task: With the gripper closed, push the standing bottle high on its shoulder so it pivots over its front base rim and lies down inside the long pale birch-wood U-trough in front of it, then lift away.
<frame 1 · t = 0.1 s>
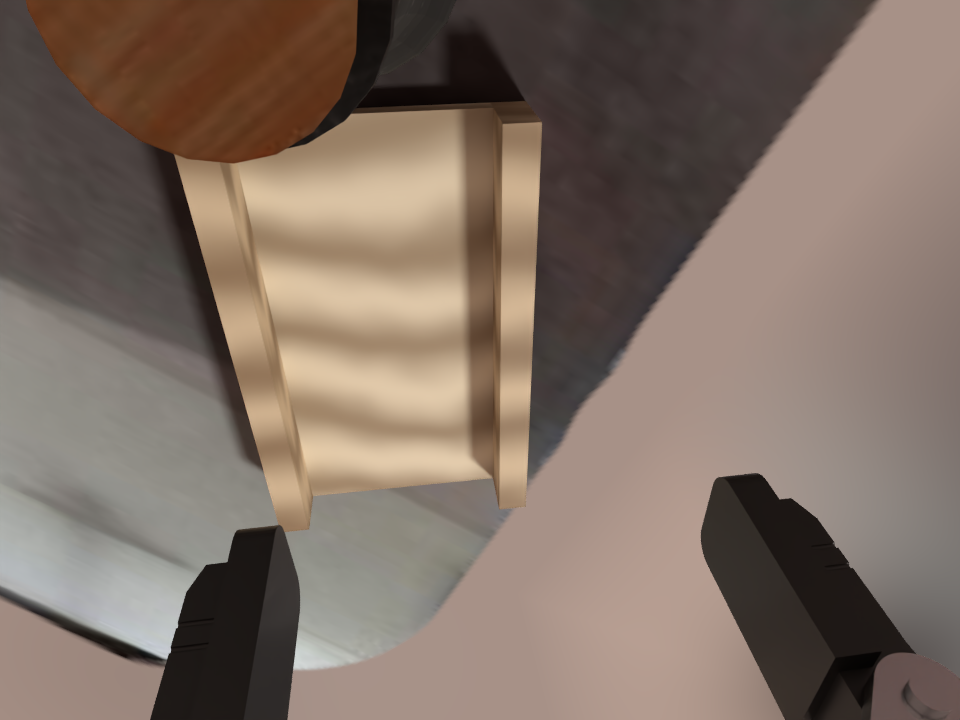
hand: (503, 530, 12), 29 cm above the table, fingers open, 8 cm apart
trough: (387, 326, 43), on the table
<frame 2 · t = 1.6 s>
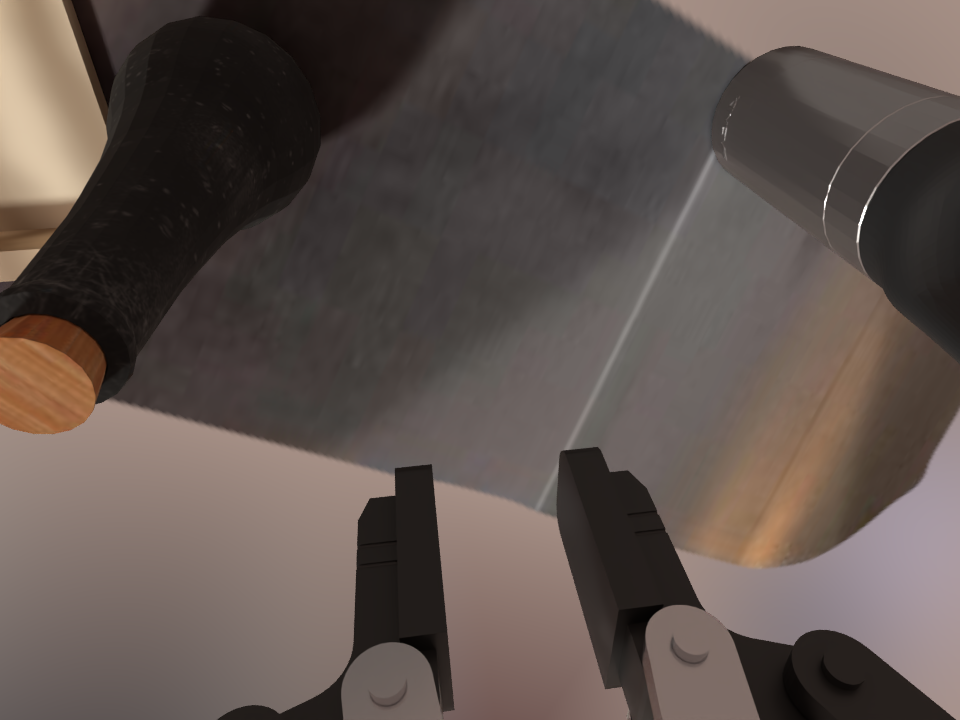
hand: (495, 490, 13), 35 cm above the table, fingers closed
bottle: (241, 99, 41), on the table
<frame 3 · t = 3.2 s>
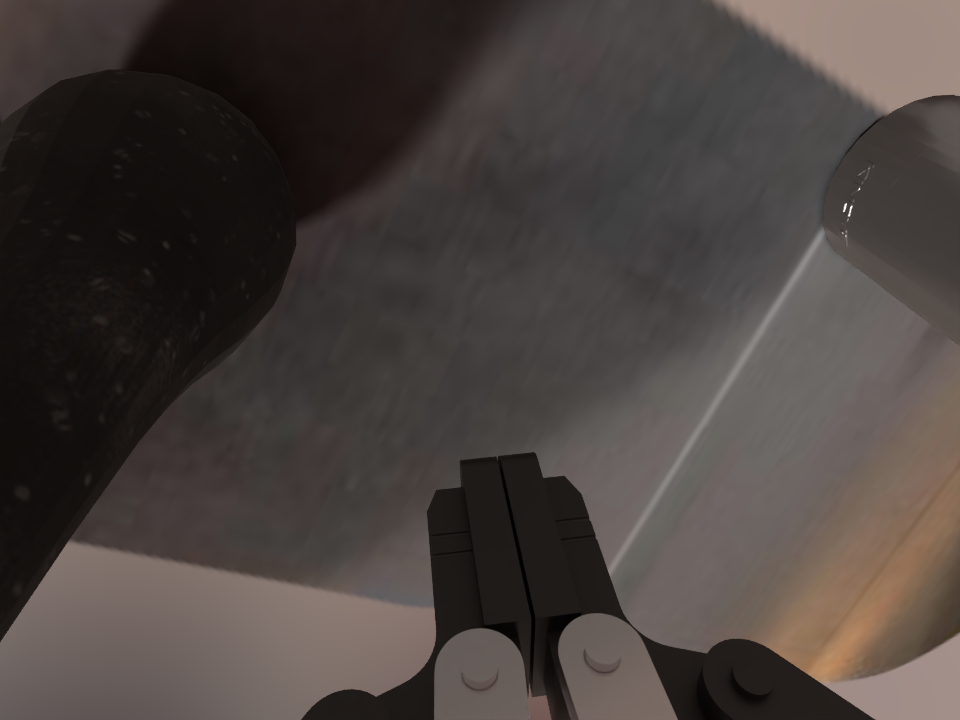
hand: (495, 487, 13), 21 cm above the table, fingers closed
bottle: (189, 172, 29), on the table
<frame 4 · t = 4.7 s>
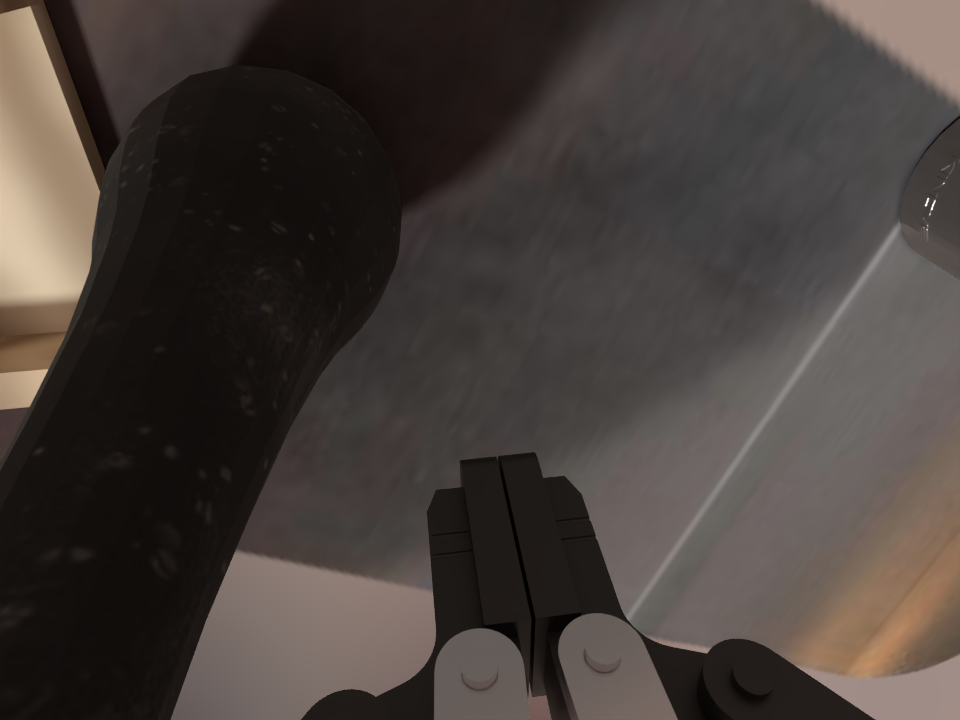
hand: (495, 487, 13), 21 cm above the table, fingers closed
bottle: (288, 167, 30), on the table
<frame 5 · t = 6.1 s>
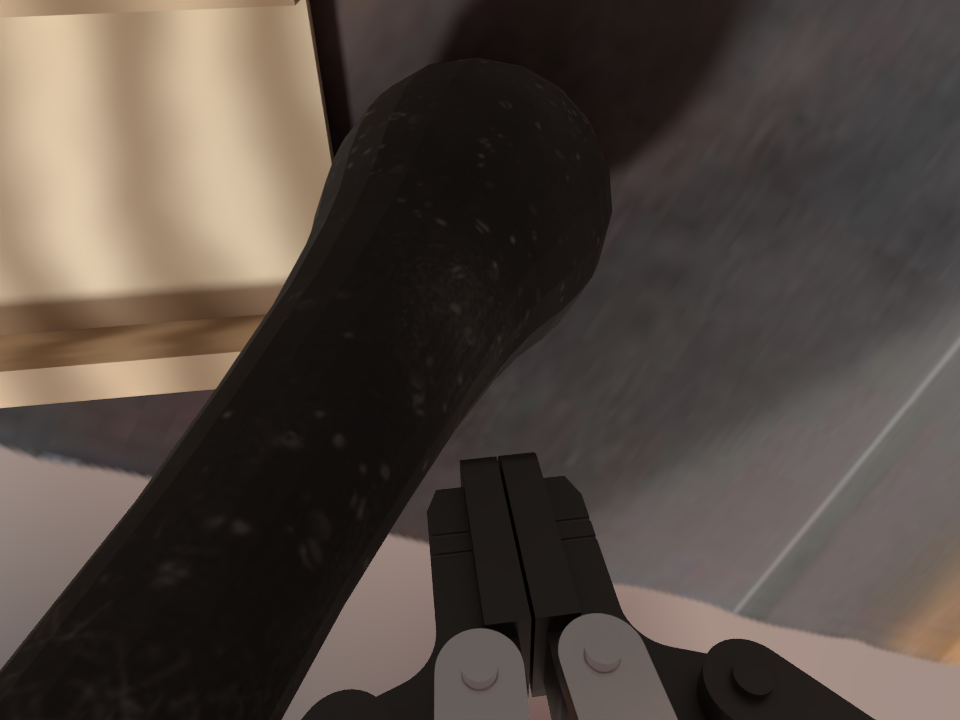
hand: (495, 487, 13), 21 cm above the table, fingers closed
trough: (19, 183, 29), on the table
bottle: (504, 161, 30), point 1 cm above the table
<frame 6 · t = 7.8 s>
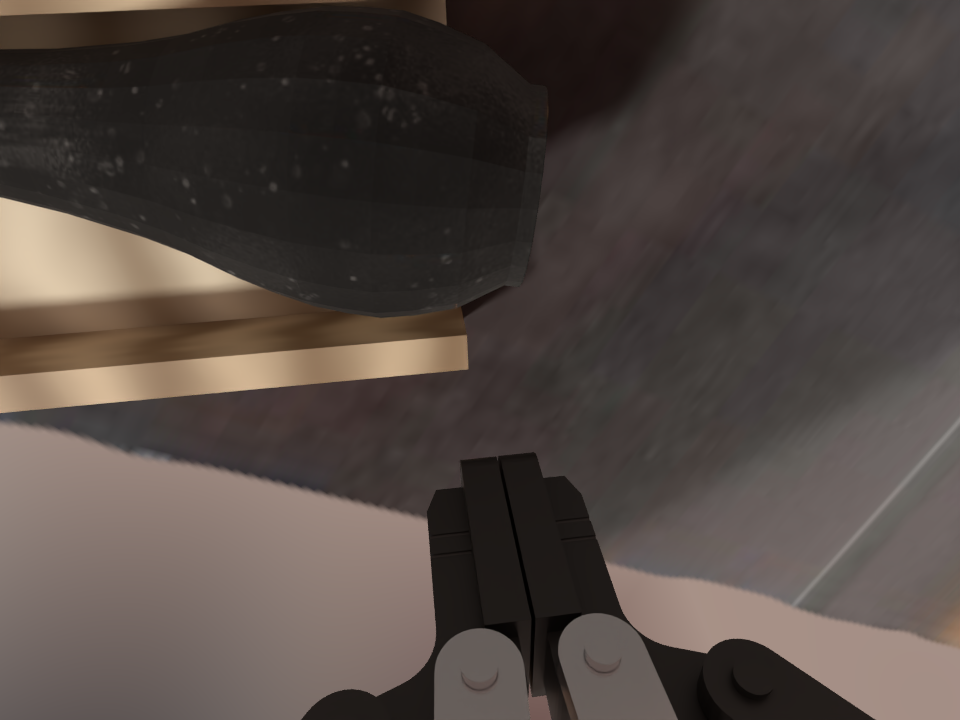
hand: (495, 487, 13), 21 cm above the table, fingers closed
trough: (140, 177, 29), on the table
bottle: (536, 190, 24), point 7 cm above the table, touching trough
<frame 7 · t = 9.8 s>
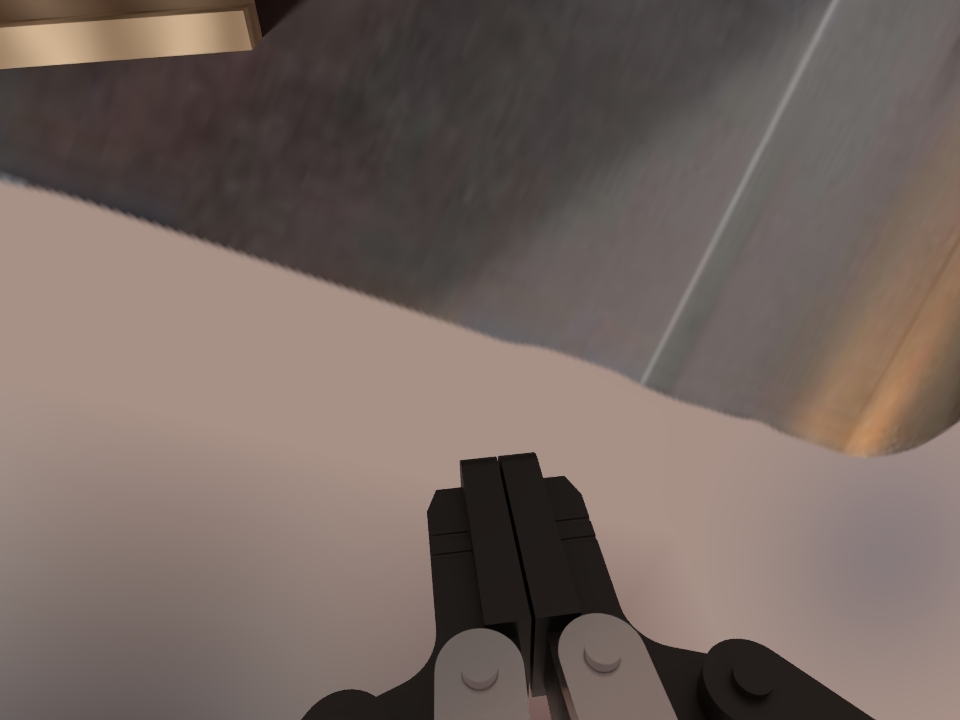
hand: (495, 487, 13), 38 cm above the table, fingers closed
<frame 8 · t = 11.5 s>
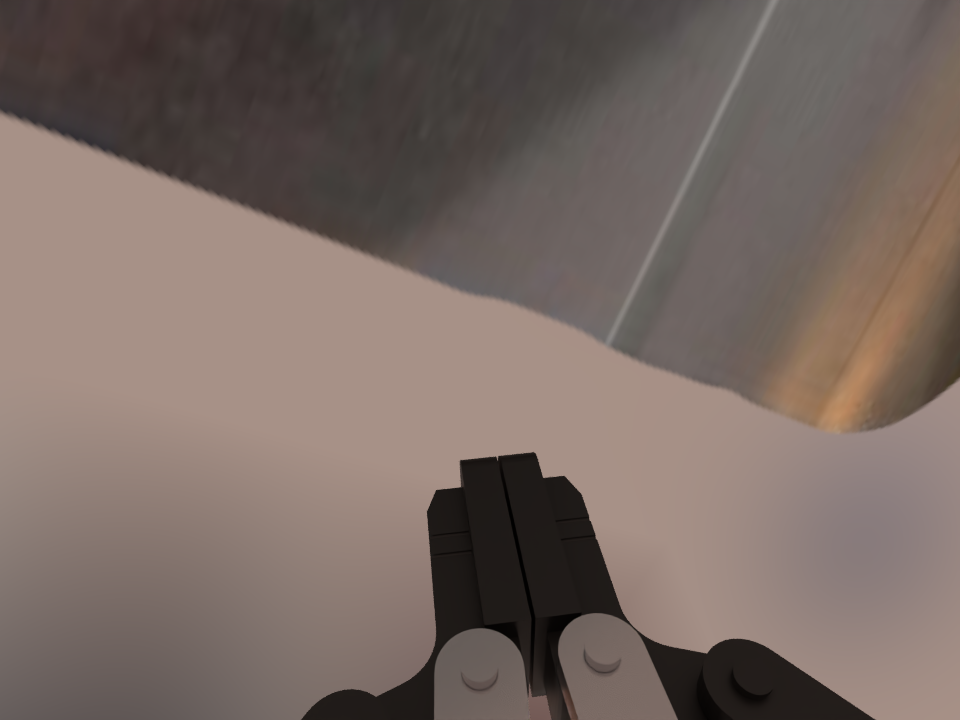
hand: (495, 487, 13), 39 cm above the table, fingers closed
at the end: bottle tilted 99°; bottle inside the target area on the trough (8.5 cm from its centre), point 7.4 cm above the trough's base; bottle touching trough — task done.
